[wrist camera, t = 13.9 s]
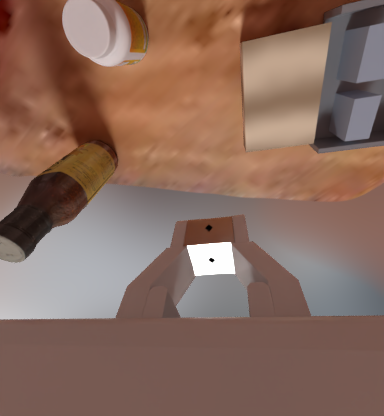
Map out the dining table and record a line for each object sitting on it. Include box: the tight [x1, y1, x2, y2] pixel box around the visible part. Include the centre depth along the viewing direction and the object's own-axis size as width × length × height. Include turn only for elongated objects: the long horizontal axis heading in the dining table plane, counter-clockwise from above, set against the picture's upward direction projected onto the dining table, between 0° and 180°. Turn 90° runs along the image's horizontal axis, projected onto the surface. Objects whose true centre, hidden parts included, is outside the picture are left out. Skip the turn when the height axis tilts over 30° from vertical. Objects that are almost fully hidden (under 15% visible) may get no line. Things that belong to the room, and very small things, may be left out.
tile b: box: [329, 90, 382, 141], centre depth 25 cm, size 4×4×2 cm
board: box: [240, 22, 332, 152], centre depth 26 cm, size 12×8×3 cm
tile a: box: [336, 23, 384, 83], centre depth 22 cm, size 4×4×2 cm
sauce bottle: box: [0, 141, 118, 262], centre depth 27 cm, size 7×6×20 cm
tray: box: [309, 0, 384, 153], centre depth 24 cm, size 14×10×4 cm
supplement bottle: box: [62, 0, 148, 66], centre depth 21 cm, size 5×5×10 cm
